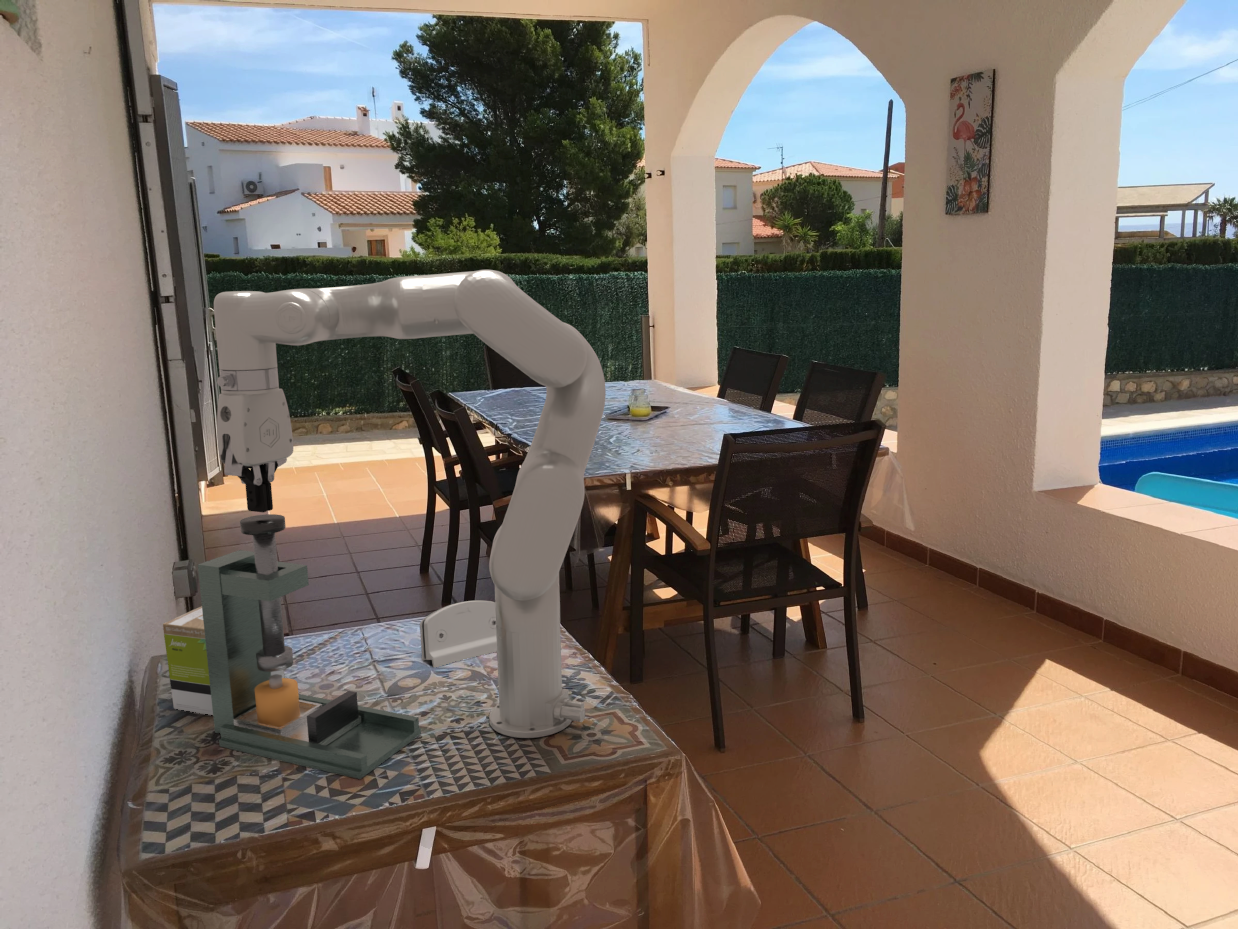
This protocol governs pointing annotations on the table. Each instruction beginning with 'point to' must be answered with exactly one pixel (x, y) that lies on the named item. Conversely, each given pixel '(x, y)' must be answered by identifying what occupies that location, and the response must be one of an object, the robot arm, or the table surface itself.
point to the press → (235, 673)
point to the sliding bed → (312, 720)
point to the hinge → (459, 632)
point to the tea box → (190, 663)
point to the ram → (266, 563)
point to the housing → (277, 701)
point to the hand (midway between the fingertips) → (260, 510)
